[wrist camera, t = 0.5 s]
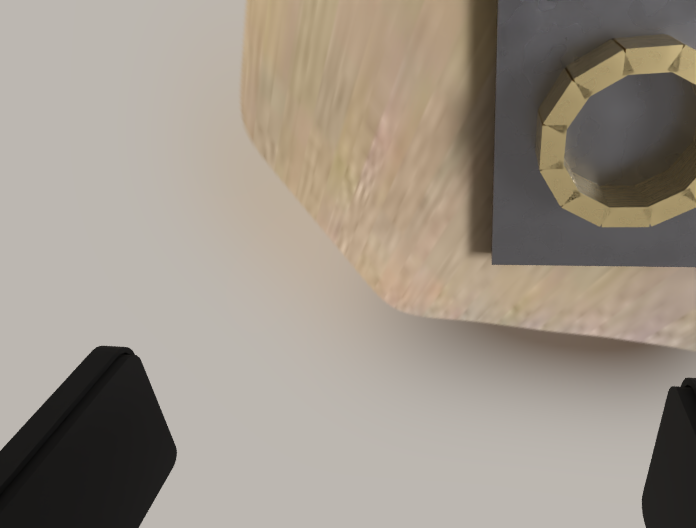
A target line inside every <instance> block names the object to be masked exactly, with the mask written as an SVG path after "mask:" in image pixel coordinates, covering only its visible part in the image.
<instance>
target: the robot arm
mask: <svg viewBox="0 0 696 528" xmlns="http://www.w3.org/2000/svg"><path fill="white" fill-rule="evenodd" d="M176 456H177V450H176V446H175V444H174V441H173V438H172V436H171V434H170V431H169V429H168V426H167V424H166V421H165V419H164V416H163V414H162V411H161V409H160V406H159V404H158V401H157V399H156V396H155V394H154V391H153V389H152V386H151V384H150V381H149V379H148V376H147V374H146V371H145V369H144V367H143V364H142V362H141V360H140V358H139V357H138V356H137V355H135V354H134V352H133V351H132V350H131V349H130V348H128V347H115V346H114V347H113V346H99V347H96V348H95V349H94V350H93V351H92V352H91V353H90V354H89V355H88V356H87V357H86V358H85V359H84V360H83V362H82V363H81V364H80V365H79V366H78V367H77V368H76V369H75V370H74V371H73V372H72V374H71V375H70V376H69V377H68V378H67V379H66V380H65V381H64V382H63V383H62V384H61V386H60V387H59V388H58V389H57V390H56V391H55V392H54V393H53V394H52V395H51V396H50V397H49V399H48V400H47V401H46V402H45V403H44V404H43V405H42V406H41V407H40V408H39V410H37V412H36V413H35V414H34V415H33V416H32V417H31V418H30V419H29V420H28V421H27V422H26V424H25V425H24V426H23V427H22V428H21V429H20V430H19V431H18V432H17V434H16V435H15V436H14V437H13V438H12V439H11V440H10V441H9V442H8V443H7V444H6V445H5V446H4V447H3V449H2V450H1V451H0V528H139V526H140V524H141V522H142V521H143V518H144V517H145V515H146V513H147V512H148V510H149V508H150V507H151V505H152V503H153V501H154V500H155V498H156V496H157V494H158V493H159V491H160V489H161V487H162V485H163V484H164V482H165V480H166V479H167V477H168V475H169V473H170V472H171V470H172V468H173V466H174V464H175V461H176ZM642 510H643V518H644V522H645V525H646V528H696V378H685V380H684V381H683V382H682V385H681V387H671V388H670V389H669V391H668V395H667V399H666V403H665V407H664V411H663V415H662V419H661V423H660V427H659V431H658V435H657V439H656V443H655V447H654V451H653V455H652V459H651V463H650V467H649V471H648V475H647V479H646V483H645V487H644V491H643V496H642Z"/></svg>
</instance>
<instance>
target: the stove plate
mask: <svg viewBox="0 0 696 528" xmlns="http://www.w3.org/2000/svg"><path fill="white" fill-rule="evenodd" d="M492 265H568V266H647V267H696V0H498V7H497V48H496V90H495V131H494V173H493V214H492Z"/></svg>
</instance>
